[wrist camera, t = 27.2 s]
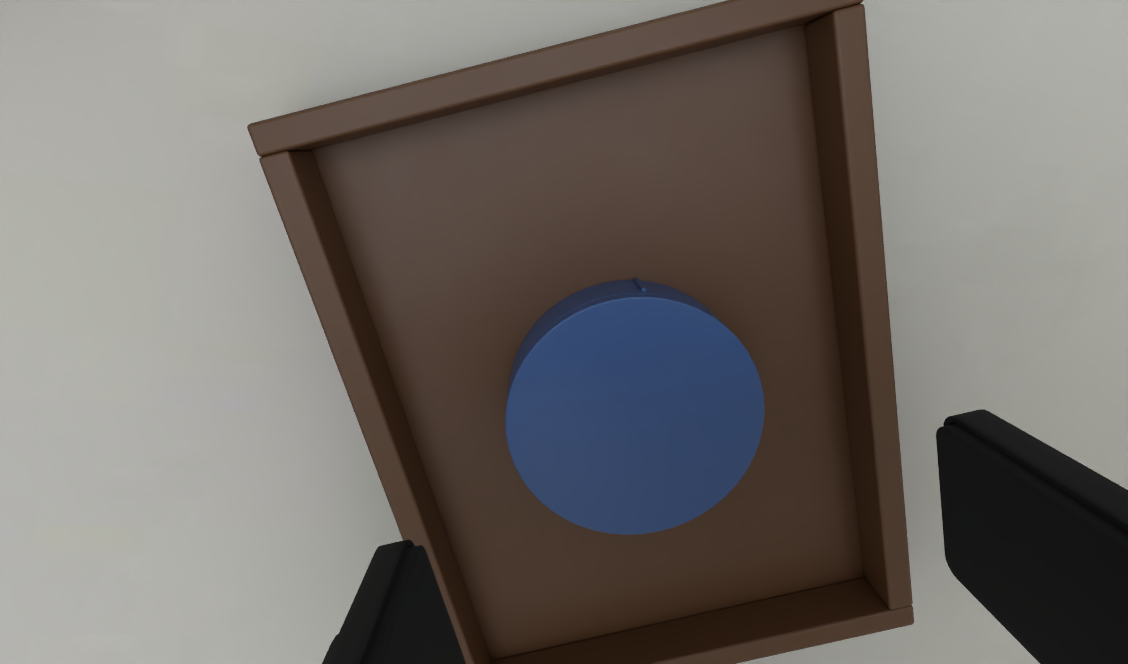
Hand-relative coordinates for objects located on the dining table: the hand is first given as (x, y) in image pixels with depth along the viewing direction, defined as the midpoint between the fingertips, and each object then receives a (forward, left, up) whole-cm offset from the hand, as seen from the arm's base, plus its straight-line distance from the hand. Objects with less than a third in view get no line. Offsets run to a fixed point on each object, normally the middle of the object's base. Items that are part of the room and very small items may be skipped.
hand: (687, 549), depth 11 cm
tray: (+1, 0, -7) cm, 7 cm away
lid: (0, 0, -5) cm, 5 cm away
